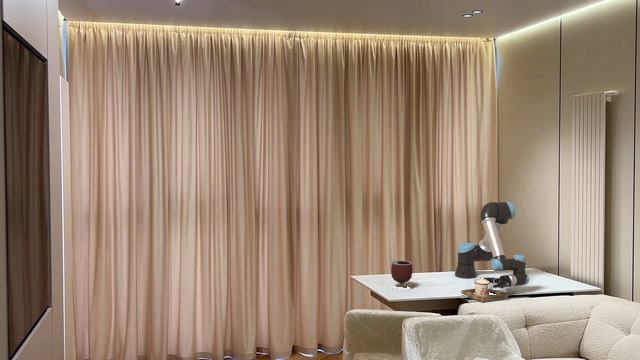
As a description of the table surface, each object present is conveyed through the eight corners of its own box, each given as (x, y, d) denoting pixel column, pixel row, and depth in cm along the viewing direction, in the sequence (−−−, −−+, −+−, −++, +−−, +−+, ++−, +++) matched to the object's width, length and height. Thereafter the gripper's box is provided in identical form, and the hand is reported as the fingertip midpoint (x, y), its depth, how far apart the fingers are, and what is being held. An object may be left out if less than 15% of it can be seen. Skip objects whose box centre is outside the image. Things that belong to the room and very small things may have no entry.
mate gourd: (415, 287, 398) (416, 257, 397) (406, 292, 387) (406, 261, 385) (394, 284, 407) (395, 255, 405) (384, 288, 395) (385, 258, 394)
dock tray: (461, 294, 381) (461, 290, 381) (485, 291, 390) (485, 287, 389) (482, 302, 363) (482, 298, 363) (507, 299, 372) (508, 294, 371)
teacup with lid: (480, 298, 370) (481, 279, 369) (471, 294, 378) (472, 276, 377) (496, 296, 375) (497, 278, 374) (487, 293, 383) (487, 275, 382)
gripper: (521, 291, 373) (494, 294, 364) (493, 282, 395) (467, 285, 386) (521, 279, 372) (495, 282, 363) (494, 271, 395) (468, 273, 385)
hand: (481, 284), depth 374 cm, fingers open, 13 cm apart
